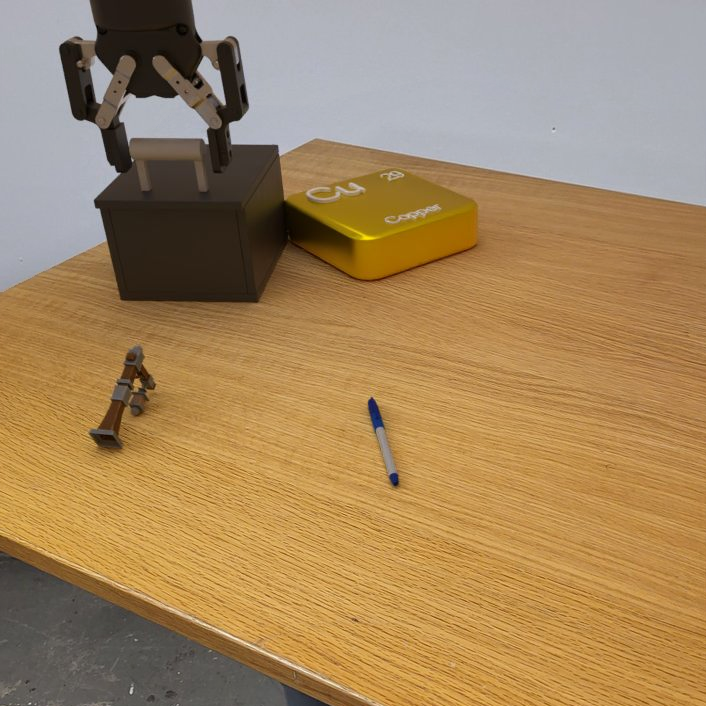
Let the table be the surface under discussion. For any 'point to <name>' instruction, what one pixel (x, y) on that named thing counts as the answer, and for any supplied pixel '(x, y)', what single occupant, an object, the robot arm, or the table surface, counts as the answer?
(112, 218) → the open black box
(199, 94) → the robot arm
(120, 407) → the brown grey angular piece
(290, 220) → the element tile
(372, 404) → the ballpoint pen
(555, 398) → the table surface
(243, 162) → the box lid
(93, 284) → the table surface
